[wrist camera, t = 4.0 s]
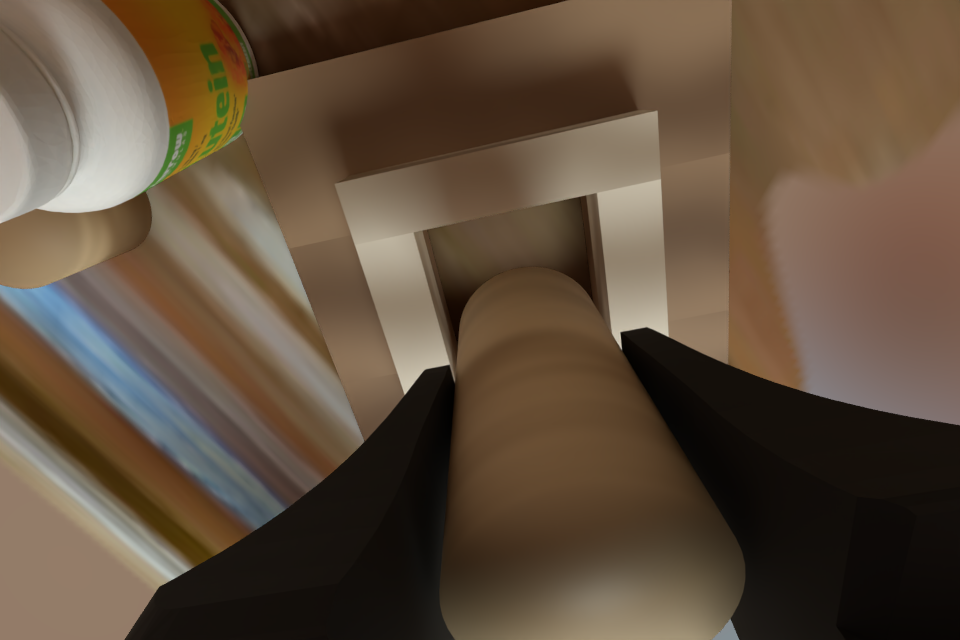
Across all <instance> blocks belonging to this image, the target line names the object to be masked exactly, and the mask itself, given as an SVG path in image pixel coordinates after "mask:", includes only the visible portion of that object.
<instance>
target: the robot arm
mask: <svg viewBox="0 0 960 640" xmlns="http://www.w3.org/2000/svg"><path fill="white" fill-rule="evenodd" d="M620 335H621V345H622V351H623V353H624V354H625V356H626V358H627V359H628V361H629V363H630V364H631V366H632V368H633V369H634V371H635V373H636V374H637V376H638V377H639V379H640V381H641V382H642V384H643V386H644V387H645V389H646V391H647V392H648V394H649V396H650V397H651V399H652V401H653V402H654V404H655V405H656V407H657V409H658V410H659V412H660V414H661V415H662V417H663V419H664V420H665V422H666V424H667V425H668V427H669V429H670V430H671V432H672V434H673V435H674V437H675V438H676V440H677V442H678V443H679V445H680V447H681V448H682V450H683V452H684V453H685V455H686V457H687V458H688V460H689V462H690V463H691V465H692V467H693V468H694V470H695V471H696V473H697V475H698V476H699V478H700V480H701V481H702V483H703V485H704V486H705V488H706V490H707V491H708V493H709V495H710V496H711V498H712V500H713V501H714V503H715V504H716V506H717V508H718V509H719V511H720V513H721V514H722V516H723V518H724V519H725V521H726V523H727V524H728V526H729V528H730V529H731V531H732V533H733V534H734V536H735V537H736V539H737V542H738V544H739V546H740V548H741V550H742V553H743V558H744V562H745V584H744V590H743V594H742V596H741V599H740V602H739V604H738V606H737V608H736V610H735V612H734V613H733V615H732V617H731V618H730V619H731V621H732V623H733V626H734V628H735V630H736V633H737V635H738V638H739V640H960V425H954V424H948V423H943V422H937V421H931V420H925V419H919V418H913V417H908V416H903V415H898V414H893V413H888V412H883V411H878V410H873V409H869V408H865V407H860V406H856V405H852V404H847V403H844V402H840V401H835V400H831V399H828V398H824V397H820V396H816V395H813V394H810V393H806V392H803V391H800V390H797V389H794V388H790V387H787V386H784V385H781V384H778V383H775V382H772V381H769V380H766V379H763V378H760V377H758V376H755V375H753V374H750V373H748V372H745V371H743V370H740V369H737V368H735V367H732V366H730V365H728V364H725V363H723V362H721V361H718V360H716V359H714V358H712V357H709V356H707V355H705V354H703V353H701V352H699V351H696V350H694V349H692V348H690V347H688V346H686V345H684V344H682V343H680V342H678V341H676V340H674V339H672V338H670V337H668V336H666V335H664V334H662V333H659V332H657V331H655V330H653V329H650V328H648V327H644V328H639V329H634V330H629V331H623V332H620ZM454 392H455V382H454V378H453V374H452V371H451V367H450V365H445V366H440V367H435V368H429V369H425V370H424V371H423V372H422V374H421V375H420V376H419V377H418V379H417V380H416V381H415V382H414V384H413V385H412V386H411V388H410V389H409V390H408V392H407V393H406V394H405V395H404V397H403V398H402V399H401V400H400V402H399V403H398V404H397V405H396V407H395V408H394V409H393V410H392V412H391V413H390V414H389V415H388V416H387V418H386V419H385V420H384V421H383V422H382V423H381V424H380V425H379V426H378V427H377V429H376V430H375V431H374V432H373V433H372V434H371V435H370V436H369V437H368V439H367V440H366V441H365V442H364V443H363V444H362V445H361V446H360V447H359V448H358V449H357V450H356V451H355V452H354V453H353V454H352V455H351V456H350V457H349V458H348V459H347V460H346V461H345V462H344V463H342V464H341V465H340V466H339V467H338V468H337V469H336V470H335V471H334V472H332V473H331V474H330V475H329V476H328V477H327V478H326V479H324V480H323V481H322V482H321V483H319V484H318V485H317V486H316V487H314V488H313V489H312V490H310V491H309V492H308V493H307V494H305V495H304V496H303V497H301V498H300V499H299V500H298V501H296V502H295V503H294V504H293V505H291V506H290V507H289V508H287V509H286V510H285V511H283V512H282V513H280V514H279V515H277V516H276V517H275V518H273V519H272V520H270V521H269V522H267V523H266V524H265V525H263V526H262V527H260V528H259V529H257V530H255V531H254V532H252V533H251V534H249V535H248V536H246V537H245V538H243V539H242V540H240V541H238V542H237V543H235V544H234V545H232V546H230V547H229V548H227V549H226V550H224V551H222V552H220V553H219V554H217V555H215V556H213V557H212V558H210V559H208V560H206V561H205V562H203V563H201V564H199V565H198V566H196V567H194V568H192V569H191V570H189V571H187V572H185V573H184V574H182V575H180V576H178V577H177V578H175V579H173V580H171V581H169V582H168V583H166V584H164V585H162V586H160V587H159V588H158V589H157V591H156V593H155V594H154V596H153V597H152V599H151V600H150V602H149V603H148V605H147V606H146V608H145V609H144V611H143V612H142V614H141V615H140V617H139V618H138V620H137V621H136V623H135V625H134V626H133V628H132V629H131V631H130V632H129V634H128V635H127V637H126V638H125V640H455V639H454V637H453V636H452V634H451V633H450V631H449V630H448V628H447V626H446V623H445V621H444V619H443V616H442V612H441V607H440V595H439V589H440V576H441V563H442V550H443V537H444V524H445V510H446V497H447V484H448V471H449V458H450V445H451V431H452V418H453V405H454Z"/></svg>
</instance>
